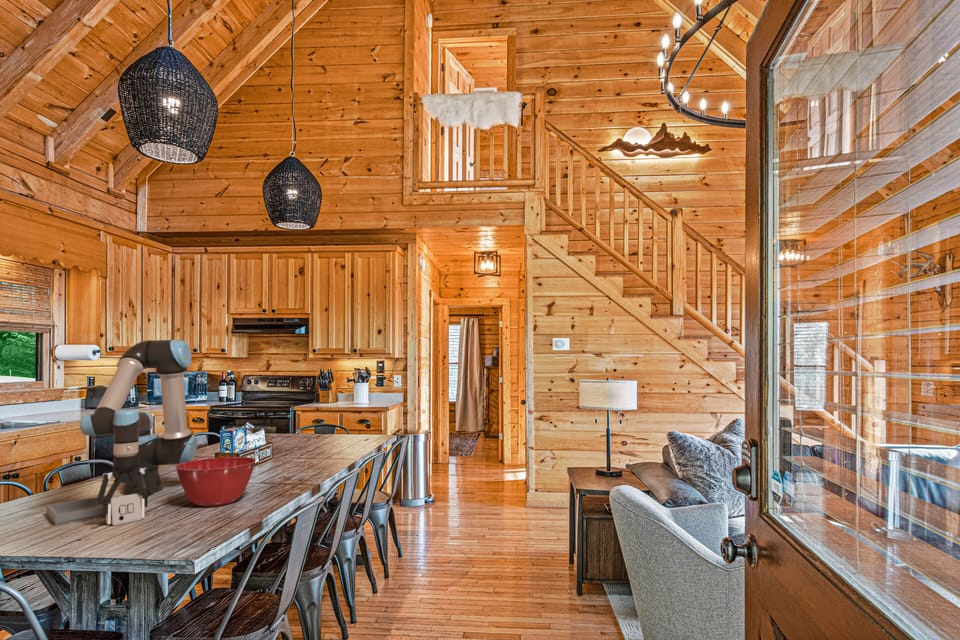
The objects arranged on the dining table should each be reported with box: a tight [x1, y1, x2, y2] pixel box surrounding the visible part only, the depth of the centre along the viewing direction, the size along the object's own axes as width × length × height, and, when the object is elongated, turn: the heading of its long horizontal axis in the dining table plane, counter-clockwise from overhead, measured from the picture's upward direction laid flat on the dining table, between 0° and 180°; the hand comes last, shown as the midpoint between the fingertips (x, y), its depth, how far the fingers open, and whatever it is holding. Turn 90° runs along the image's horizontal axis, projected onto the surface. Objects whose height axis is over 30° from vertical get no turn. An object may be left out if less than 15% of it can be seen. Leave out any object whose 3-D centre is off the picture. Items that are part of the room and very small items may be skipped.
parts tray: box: [46, 495, 115, 526], centre depth 214 cm, size 20×20×4 cm
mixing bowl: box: [175, 456, 257, 508], centre depth 228 cm, size 28×28×16 cm
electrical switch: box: [110, 493, 143, 527], centre depth 203 cm, size 9×5×9 cm, turn 141°
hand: (125, 520), depth 203 cm, fingers closed on electrical switch, 9 cm apart
